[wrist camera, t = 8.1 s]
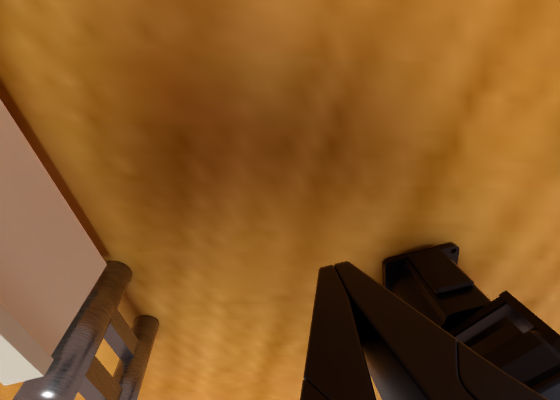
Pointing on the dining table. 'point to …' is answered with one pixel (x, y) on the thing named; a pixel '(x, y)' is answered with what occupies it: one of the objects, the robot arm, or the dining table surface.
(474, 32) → the dining table surface
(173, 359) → the dining table surface
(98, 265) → the gate panel
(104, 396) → the gate frame
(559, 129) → the dining table surface
